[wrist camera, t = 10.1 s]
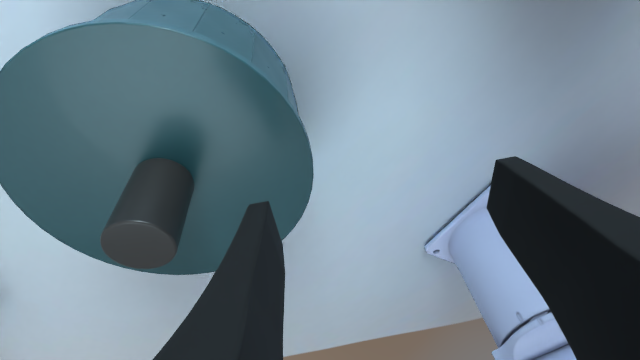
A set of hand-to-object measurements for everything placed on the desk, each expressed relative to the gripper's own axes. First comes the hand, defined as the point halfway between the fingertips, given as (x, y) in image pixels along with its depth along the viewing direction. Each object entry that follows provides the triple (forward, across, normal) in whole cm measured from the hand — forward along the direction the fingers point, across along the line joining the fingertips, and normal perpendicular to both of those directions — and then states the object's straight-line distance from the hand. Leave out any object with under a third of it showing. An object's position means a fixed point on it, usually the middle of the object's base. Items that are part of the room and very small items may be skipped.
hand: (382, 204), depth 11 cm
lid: (+4, +8, 0) cm, 9 cm away
